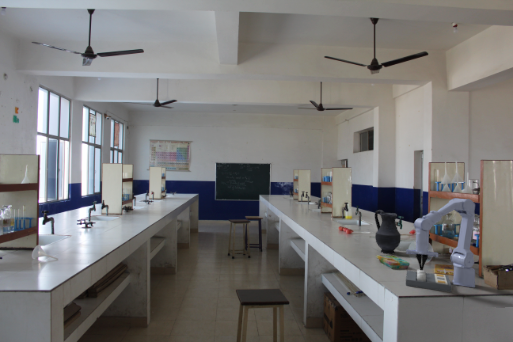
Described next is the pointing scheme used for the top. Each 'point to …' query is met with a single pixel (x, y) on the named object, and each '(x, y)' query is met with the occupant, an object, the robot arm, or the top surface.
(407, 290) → the top surface
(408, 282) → the board
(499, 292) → the top surface
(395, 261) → the puzzle game
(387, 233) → the pitcher
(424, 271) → the button middle
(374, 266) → the top surface
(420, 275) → the button
